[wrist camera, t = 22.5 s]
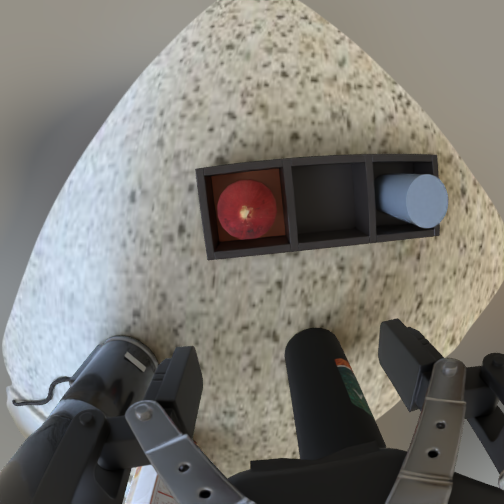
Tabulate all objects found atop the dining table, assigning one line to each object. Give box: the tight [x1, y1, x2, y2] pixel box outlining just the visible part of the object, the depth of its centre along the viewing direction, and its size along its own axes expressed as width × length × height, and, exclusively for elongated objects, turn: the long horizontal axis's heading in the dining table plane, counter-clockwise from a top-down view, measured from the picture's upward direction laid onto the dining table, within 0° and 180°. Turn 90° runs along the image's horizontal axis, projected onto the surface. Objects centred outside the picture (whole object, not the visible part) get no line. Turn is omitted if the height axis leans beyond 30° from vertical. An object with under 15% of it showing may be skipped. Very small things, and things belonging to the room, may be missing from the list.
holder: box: [195, 154, 440, 260], centre depth 31 cm, size 26×9×5 cm, turn 96°
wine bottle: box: [285, 328, 386, 460], centre depth 24 cm, size 8×8×30 cm
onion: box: [217, 179, 277, 239], centre depth 29 cm, size 6×6×8 cm
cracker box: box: [125, 442, 196, 504], centre depth 34 cm, size 14×6×21 cm, turn 143°
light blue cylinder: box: [374, 173, 448, 228], centre depth 28 cm, size 5×5×9 cm
